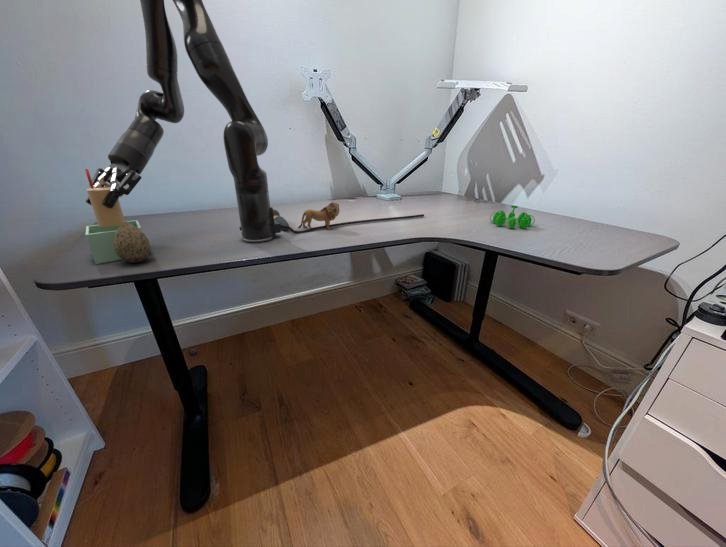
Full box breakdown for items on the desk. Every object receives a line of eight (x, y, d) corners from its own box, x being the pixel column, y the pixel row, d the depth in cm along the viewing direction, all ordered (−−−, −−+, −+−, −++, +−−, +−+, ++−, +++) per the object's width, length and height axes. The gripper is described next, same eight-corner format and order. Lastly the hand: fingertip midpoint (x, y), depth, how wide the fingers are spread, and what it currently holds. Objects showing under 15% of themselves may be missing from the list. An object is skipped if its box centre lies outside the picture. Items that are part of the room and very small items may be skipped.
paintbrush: (298, 230, 107) (297, 215, 105) (284, 232, 104) (283, 217, 102) (274, 219, 121) (273, 206, 119) (262, 221, 118) (260, 208, 116)
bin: (144, 245, 91) (137, 220, 88) (148, 254, 83) (141, 227, 80) (95, 253, 84) (86, 226, 81) (95, 264, 77) (85, 234, 74)
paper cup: (130, 222, 82) (114, 167, 77) (107, 228, 77) (88, 169, 72) (116, 220, 84) (99, 166, 79) (93, 225, 79) (74, 168, 74)
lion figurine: (338, 225, 113) (338, 200, 110) (341, 229, 108) (340, 203, 105) (297, 227, 110) (295, 202, 107) (298, 231, 105) (296, 204, 102)
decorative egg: (116, 269, 74) (103, 228, 70) (123, 259, 80) (111, 221, 76) (152, 264, 77) (141, 225, 73) (155, 255, 83) (145, 218, 79)
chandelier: (488, 227, 112) (491, 208, 109) (490, 218, 125) (493, 201, 122) (535, 232, 107) (539, 211, 104) (531, 222, 120) (535, 204, 117)
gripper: (101, 140, 82) (63, 194, 76) (139, 141, 77) (101, 198, 71) (127, 161, 88) (95, 211, 83) (164, 163, 83) (131, 216, 78)
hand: (98, 205), depth 77 cm, fingers closed on paper cup, 5 cm apart
